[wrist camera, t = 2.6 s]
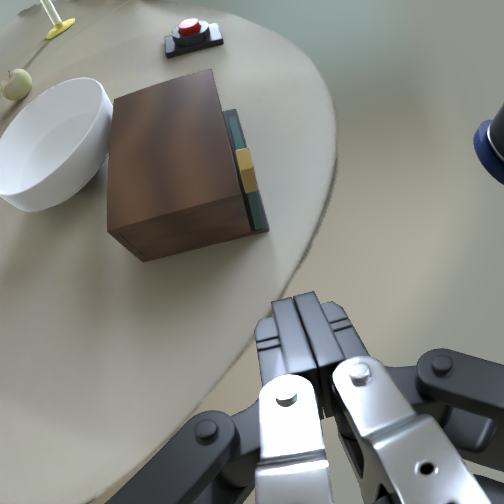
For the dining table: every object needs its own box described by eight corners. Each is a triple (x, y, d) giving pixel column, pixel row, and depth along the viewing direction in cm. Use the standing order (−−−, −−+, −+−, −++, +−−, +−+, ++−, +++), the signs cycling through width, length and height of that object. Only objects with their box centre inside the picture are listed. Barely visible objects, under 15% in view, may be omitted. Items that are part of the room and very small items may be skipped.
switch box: (218, 27, 49) (215, 15, 46) (223, 43, 47) (220, 30, 44) (166, 41, 49) (162, 29, 47) (167, 58, 47) (162, 45, 44)
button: (199, 24, 46) (197, 16, 45) (201, 32, 45) (199, 24, 43) (179, 29, 46) (177, 22, 45) (180, 37, 45) (178, 30, 43)
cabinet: (236, 111, 40) (226, 64, 32) (269, 230, 33) (263, 189, 26) (137, 139, 40) (113, 99, 33) (142, 262, 33) (106, 231, 26)
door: (245, 158, 36) (231, 91, 26) (264, 228, 32) (253, 167, 23) (237, 160, 36) (220, 93, 26) (254, 230, 32) (240, 170, 23)
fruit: (38, 78, 53) (22, 55, 46) (34, 94, 51) (17, 70, 43) (13, 95, 53) (-3, 73, 46) (9, 112, 50) (-10, 90, 43)
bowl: (156, 128, 40) (134, 84, 32) (68, 250, 35) (25, 220, 27) (77, 106, 45) (55, 73, 38) (6, 199, 40) (-26, 172, 32)
